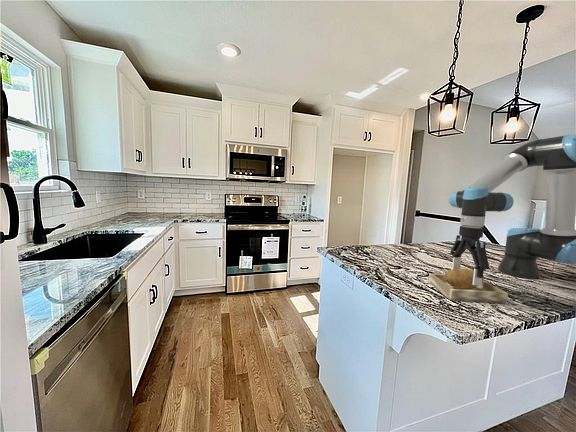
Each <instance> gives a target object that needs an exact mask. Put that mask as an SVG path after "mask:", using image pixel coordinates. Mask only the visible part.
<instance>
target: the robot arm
mask: <svg viewBox="0 0 576 432" xmlns="http://www.w3.org/2000/svg"><path fill="white" fill-rule="evenodd" d="M539 166H540V167H542V171H543V172H545V173H546V174H547V183H546V199H545V201H546V205H545V221H544V223H545V224H544V228H542V229H541V228H533V227H532V228H529V227H527V228H523V227H521V228H520V227H516V228H514V227H513V228H509V229H508V230H507V233H506V238H505V239H506V240H505V241H506V242H505V248H504V255H503V257H502V259H501V261H500V263H499V264H498V267H497V271H498V272H500V273H503V274H505V275H509V276H512V277H517V278H523V279H530V280H531V279H534V280H536V279H539V278H540V270H539V266H538V263H537V258H540V259H544V260H548V261H552V262H556V263H558V264H566V265H573V264H576V228H575V226H576V133H575V134H566V135H561V136H553V137H548V138H547V137H546V138H540V139H535V140H531V141H529V142H527V143H525V144H523V145H520V146H519V147H517V148H515V149H513V150H512V151H511V152H509V153H508V154H507V155H505V156H504V157H503V159H502V161H501V162H500V163H498V164H496V166H494V167H493V168H491V169H490V170H489V171H487V172H486V173H485V174H484V175H482V176H481V177H479V178H478V179H477V180H475V181H474V182H472V183H471V184H470V185H469V186H467V187H465V188H464V189H463V190H458V191H457V190H456V191H454V192H452V193H451V194H450V195H449V197H448V202H449V204H450V206H451V207H453V208H457V209H461V212H460V213H461V214H460V215H461V217H460V222H459V224H460V226H459V232H458V234H459V235H458V234H457V235H456V237H455V241H454V242H453V245H452V247H451V249H450V251H449V254H450V255H452V267H451V268H452V270H455V269H460V268H461V262H462V255H463V254H464V253H465V251H466V250H467V251H468V252H469V253H470V254H471V256H472V259H473V262H474V265H475V267H474V269H473V270H474V275H473V283H472V285H477V286H481V285H482V278H483V276H484V271H485V270H489V269H490V266H489V265H490V264H489V260H488V255H487V250H486V249H487V248H486V242H485V241H480V239H482V238H483V236H484V228H483V227H485V220H486V213H487V212H496V213H497V212H498V213H501V212H506V211H509V210H510V209H512V207H513V206H514V198H513V196H512V195H511V194H510V193H506V192H493V191H494V190H496V189H497V188H498V187H499V186H501V185H502V184H504V182H506V181H508V180H509V179H510V178H512V177H513V176H514V175H515V174H517V173H520V172H523V171H525V170H526V169H528V168H531V167H539Z"/></svg>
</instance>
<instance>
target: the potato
mask: <svg viewBox="0 0 576 432" xmlns="http://www.w3.org/2000/svg"><path fill="white" fill-rule="evenodd" d="M467 269H468V268H465V269H455V270H451V269H448V270H447V271H445V273H444V274H445V280H446V282H447V283H448V284H449V285H451V286H453V287H455V288H457V289H462V290H469V289H473V288H475V287H477V285H472V283H473V275H474V269H468V270H467ZM484 277H485V275H483V278H482V282H483V280H484Z"/></svg>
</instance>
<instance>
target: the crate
mask: <svg viewBox="0 0 576 432" xmlns="http://www.w3.org/2000/svg"><path fill="white" fill-rule="evenodd" d="M428 274H429V275H428V283H429V284H430V285H431V286H433V287H434V288H435V289H436V290H437V291H439V292H440V293H441V294H442V295H443V296H445V297H446V298H448V299H449V300H450V301H454V302H455V301H457V302H470V303H471V302H472V303H485V304H486V303H488V304H489V303H490V304H504V305H505V304H507V303H508V296H509V293H508V292H506V291H504V290H503V289H500V288H499V287H497V286H495V285H494V284H491V283H490V282H488V281H486V280H484V279H483V282H482V285H481V286H477V287H475V288H473V289H469V290H462V289H457V288H455V287H453V286H451V285H449V284H448V283H447V282H446V280H445V273H428Z"/></svg>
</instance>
